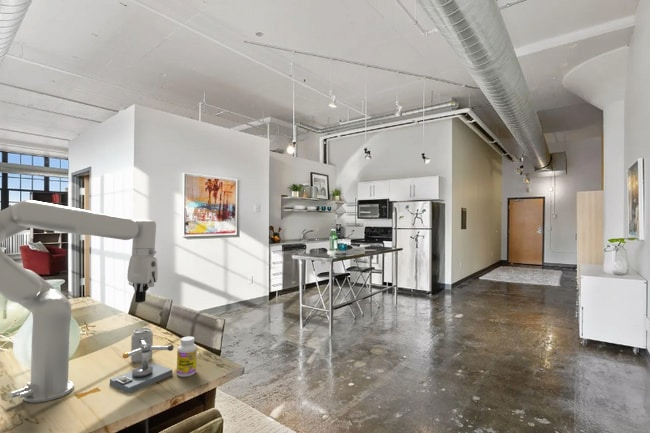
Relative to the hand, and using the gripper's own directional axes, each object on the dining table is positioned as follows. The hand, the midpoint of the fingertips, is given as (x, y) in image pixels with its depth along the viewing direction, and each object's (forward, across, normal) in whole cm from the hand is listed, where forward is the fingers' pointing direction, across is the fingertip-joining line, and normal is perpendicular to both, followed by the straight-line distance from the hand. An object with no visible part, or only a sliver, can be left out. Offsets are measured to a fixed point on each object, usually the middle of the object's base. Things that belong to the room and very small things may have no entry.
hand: (140, 301), depth 129 cm
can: (+26, +5, -8) cm, 27 cm away
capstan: (+23, -8, +6) cm, 25 cm away
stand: (+25, -8, +5) cm, 27 cm away
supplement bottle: (+25, -19, -4) cm, 32 cm away
